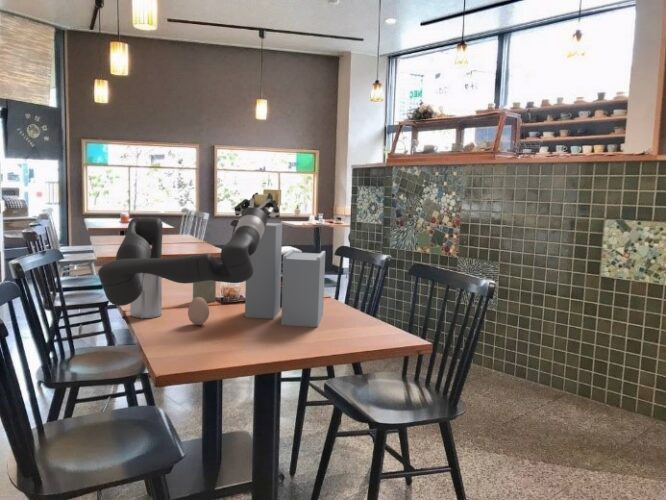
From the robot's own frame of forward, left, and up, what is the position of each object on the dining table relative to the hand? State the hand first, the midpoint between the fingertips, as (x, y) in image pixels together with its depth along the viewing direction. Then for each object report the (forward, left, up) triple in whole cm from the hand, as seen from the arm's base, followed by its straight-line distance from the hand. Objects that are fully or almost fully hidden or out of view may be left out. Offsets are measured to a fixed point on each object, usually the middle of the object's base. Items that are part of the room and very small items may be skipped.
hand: (263, 195), depth 167 cm
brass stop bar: (+4, +2, -3) cm, 6 cm away
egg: (-9, +19, -43) cm, 47 cm away
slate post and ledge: (+17, +5, -42) cm, 46 cm away
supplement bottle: (+33, +18, -43) cm, 57 cm away
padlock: (+16, +44, -43) cm, 63 cm away
